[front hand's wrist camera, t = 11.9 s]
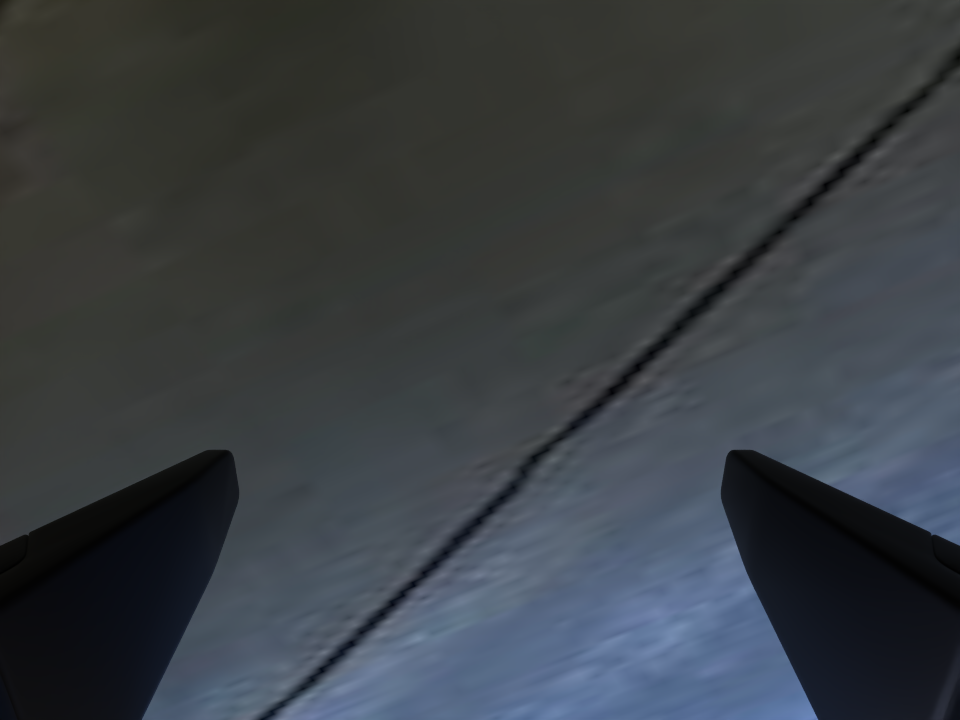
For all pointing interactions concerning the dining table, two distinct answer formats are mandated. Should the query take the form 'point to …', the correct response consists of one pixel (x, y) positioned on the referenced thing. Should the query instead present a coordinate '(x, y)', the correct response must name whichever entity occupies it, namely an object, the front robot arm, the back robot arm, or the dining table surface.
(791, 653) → the front robot arm
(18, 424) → the dining table surface
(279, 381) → the dining table surface
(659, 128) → the dining table surface
